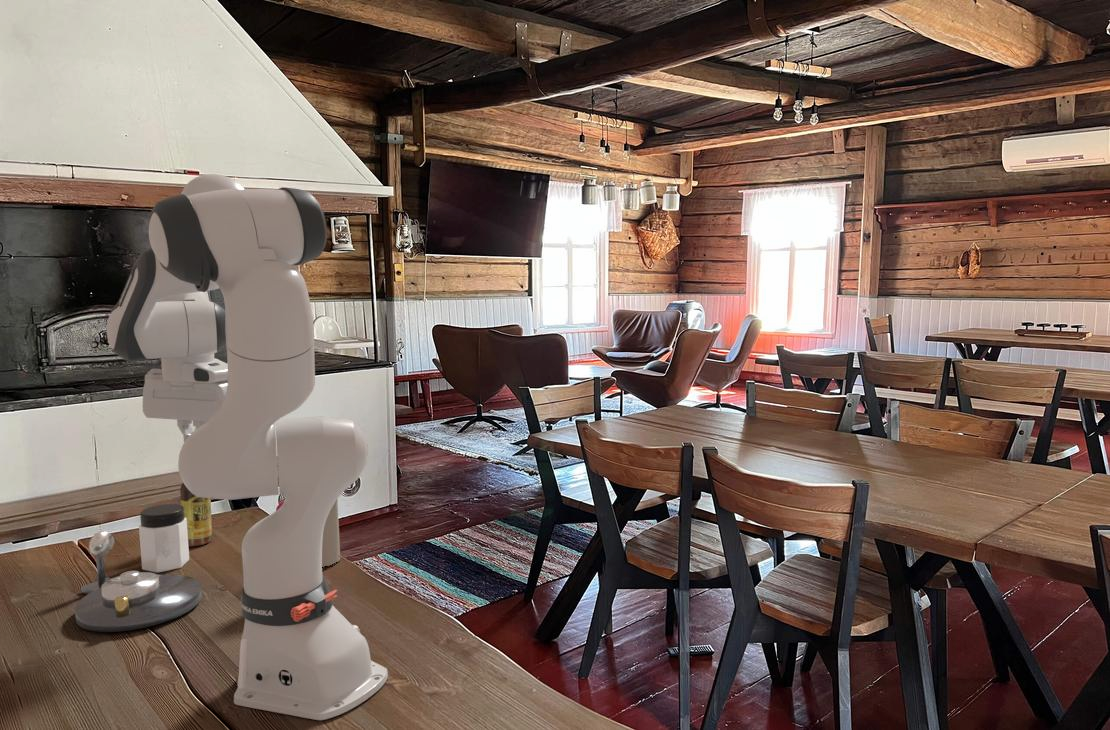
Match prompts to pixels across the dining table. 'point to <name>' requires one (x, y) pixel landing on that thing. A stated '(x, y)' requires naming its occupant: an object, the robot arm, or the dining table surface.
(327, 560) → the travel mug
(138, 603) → the cover
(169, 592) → the turntable
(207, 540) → the sauce bottle
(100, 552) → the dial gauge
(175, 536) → the jar
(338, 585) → the dining table surface
